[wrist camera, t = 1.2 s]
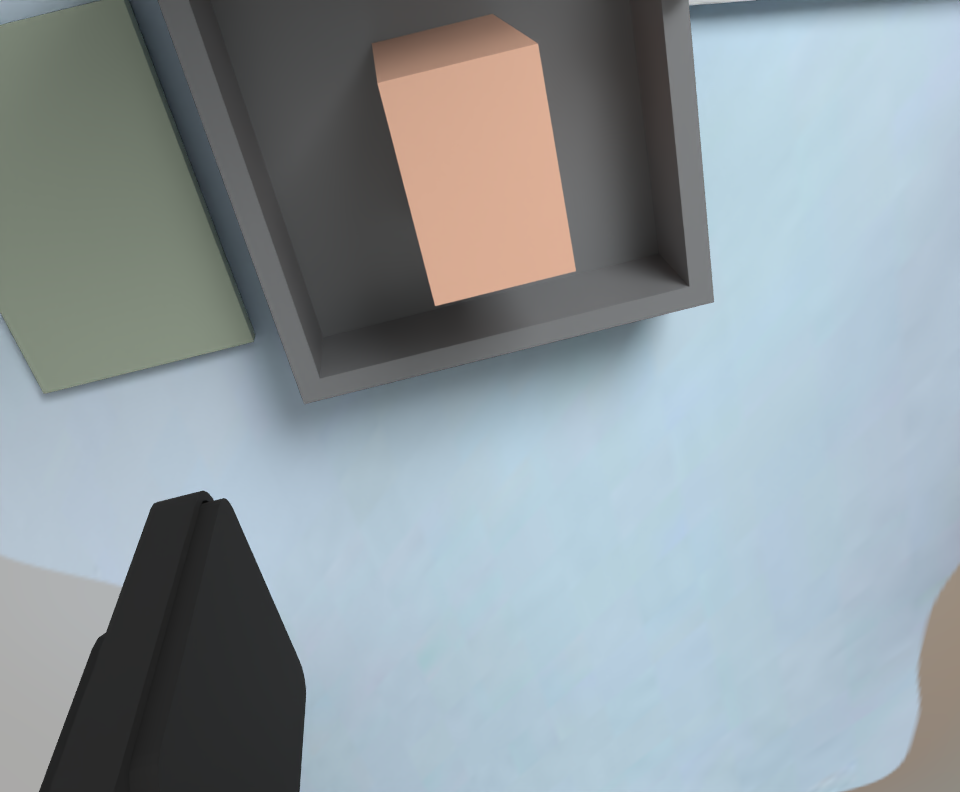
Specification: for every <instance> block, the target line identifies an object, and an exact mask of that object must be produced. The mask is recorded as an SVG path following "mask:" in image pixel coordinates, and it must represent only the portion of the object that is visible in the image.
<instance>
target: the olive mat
mask: <svg viewBox="0 0 960 792" xmlns="http://www.w3.org/2000/svg"><path fill="white" fill-rule="evenodd" d="M0 313H1V314H2V316H3V318H4V320H5V322H6V324H7V326H8V328H9V329H10V331H11V333H12V335H13V337H14V339H15V341H16V343H17V344H18V346H19V348H20V350H21V352H22V354H23V356H24V358H25V359H26V361H27V363H28V365H29V367H30V369H31V371H32V373H33V374H34V376H35V378H36V380H37V382H38V384H39V386H40V388H41V389H42V391H43V393H44V394H46V393H50V392H54V391H58V390H62V389H66V388H70V387H74V386H78V385H82V384H86V383H90V382H94V381H98V380H102V379H106V378H110V377H114V376H118V375H122V374H126V373H130V372H134V371H138V370H142V369H146V368H150V367H154V366H158V365H162V364H166V363H170V362H174V361H178V360H182V359H186V358H190V357H195V356H199V355H203V354H207V353H211V352H215V351H219V350H223V349H227V348H231V347H235V346H239V345H243V344H247V343H251V342H254V339H255V333H254V330H253V328H252V325H251V322H250V320H249V317H248V314H247V312H246V309H245V307H244V304H243V301H242V299H241V296H240V293H239V291H238V288H237V285H236V283H235V280H234V277H233V275H232V272H231V270H230V267H229V264H228V262H227V259H226V256H225V254H224V251H223V248H222V246H221V243H220V240H219V238H218V235H217V233H216V230H215V227H214V225H213V222H212V219H211V217H210V214H209V211H208V209H207V206H206V203H205V201H204V198H203V196H202V193H201V190H200V188H199V185H198V182H197V180H196V177H195V174H194V172H193V169H192V166H191V164H190V161H189V159H188V156H187V153H186V151H185V148H184V145H183V143H182V140H181V137H180V135H179V132H178V129H177V127H176V124H175V122H174V119H173V116H172V114H171V111H170V108H169V106H168V103H167V100H166V98H165V95H164V92H163V90H162V87H161V85H160V82H159V79H158V77H157V74H156V71H155V69H154V66H153V63H152V61H151V58H150V56H149V53H148V50H147V48H146V45H145V42H144V40H143V37H142V34H141V32H140V29H139V26H138V24H137V21H136V19H135V16H134V13H133V11H132V8H131V5H130V3H129V0H100V1H96V2H92V3H88V4H83V5H79V6H75V7H71V8H67V9H63V10H59V11H55V12H51V13H47V14H43V15H39V16H34V17H30V18H26V19H22V20H18V21H14V22H10V23H6V24H2V25H0Z"/></svg>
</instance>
